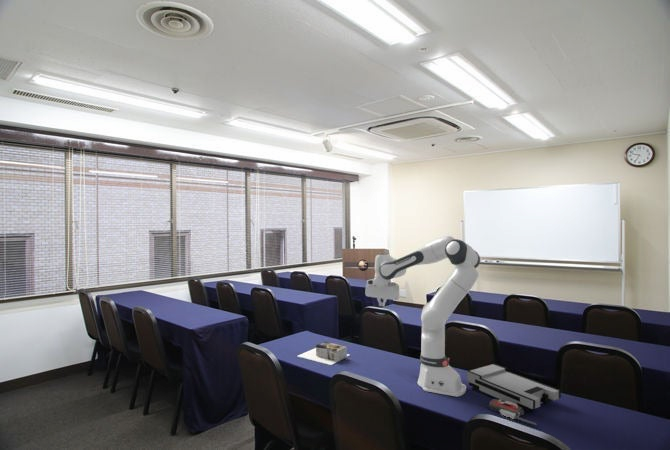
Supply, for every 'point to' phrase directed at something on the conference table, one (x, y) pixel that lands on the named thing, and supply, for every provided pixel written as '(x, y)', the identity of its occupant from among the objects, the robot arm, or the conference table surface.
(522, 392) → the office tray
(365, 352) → the conference table surface
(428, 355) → the robot arm
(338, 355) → the coffee box
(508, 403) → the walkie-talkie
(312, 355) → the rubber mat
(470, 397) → the conference table surface
